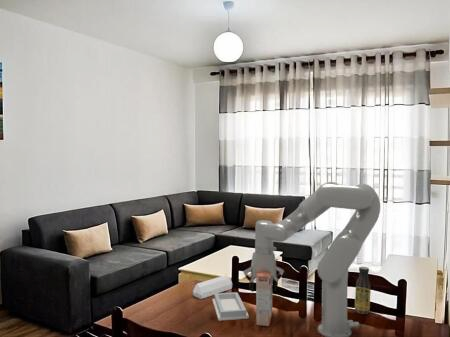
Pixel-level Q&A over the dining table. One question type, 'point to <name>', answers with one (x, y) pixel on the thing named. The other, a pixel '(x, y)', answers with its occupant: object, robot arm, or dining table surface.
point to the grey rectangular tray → (229, 307)
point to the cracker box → (263, 298)
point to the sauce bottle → (362, 292)
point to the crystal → (212, 287)
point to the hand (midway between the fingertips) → (263, 290)
